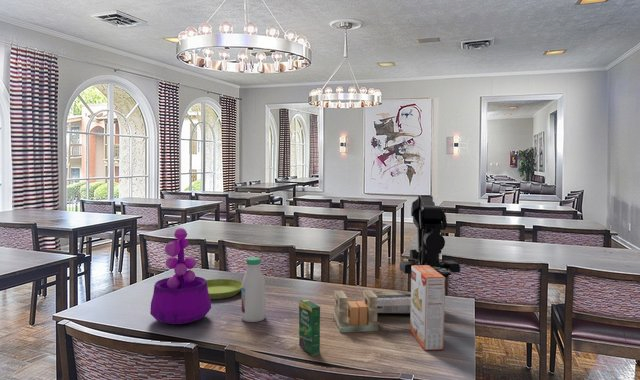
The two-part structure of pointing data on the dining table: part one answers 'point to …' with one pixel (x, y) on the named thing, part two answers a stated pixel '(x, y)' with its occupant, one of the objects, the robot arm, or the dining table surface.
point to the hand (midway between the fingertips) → (429, 292)
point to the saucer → (223, 288)
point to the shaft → (394, 301)
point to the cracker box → (427, 307)
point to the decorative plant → (180, 288)
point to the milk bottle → (253, 292)
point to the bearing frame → (341, 312)
